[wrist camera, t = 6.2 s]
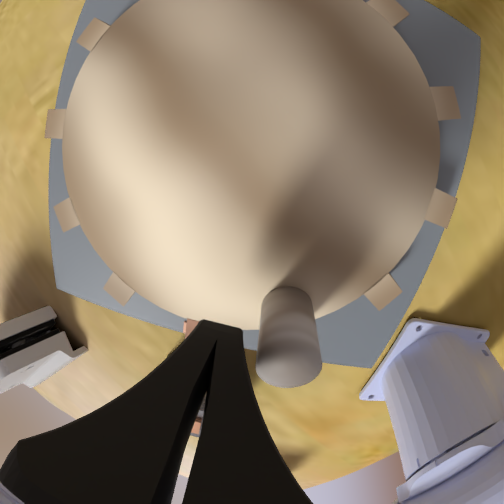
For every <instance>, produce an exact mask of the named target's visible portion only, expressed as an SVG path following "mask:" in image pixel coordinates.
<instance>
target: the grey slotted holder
mask: <svg viewBox="0 0 504 504" xmlns="http://www.w3.org/2000/svg"><path fill="white" fill-rule="evenodd" d="M56 317H57V315H56V314H55V312H54V310H53V309H52V308H51V307H50V306H46V307H43V308H41V309H38V310H35V311H33V312H30V313H27V314H25V315H22V316H19V317H17V318H14V319H12V320H9V321H6V322H4V323H1V324H0V394H1V393H3V392H5V391H7V390H9V389H11V388H13V387H15V386H17V385H19V384H25V385H27V386H28V387H30V388H33V387H35V386H37V385H39V384H40V383H42V382H43V381H45V380H46V379H48V378H49V377H51V376H52V375H53V374H55V373H56V372H58V371H59V370H61V369H62V368H64V367H65V366H66V365H68V364H69V363H71V362H72V361H74V360H75V359H77V358H78V357H79V356H81V355H82V354H84V353H85V352H87V351H88V349H87V348H86V347H85V346H83V347H81V348H79V349H77V350H75V351H73V350H72V348H71V345H70V343H69V341H68V339H67V336H66V334H65V331H63V332H61V333H60V331H59V329H56V330H53V331H51V328H52V327H53V326H54V325H55V324H56V323H55V318H56Z"/></svg>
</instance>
